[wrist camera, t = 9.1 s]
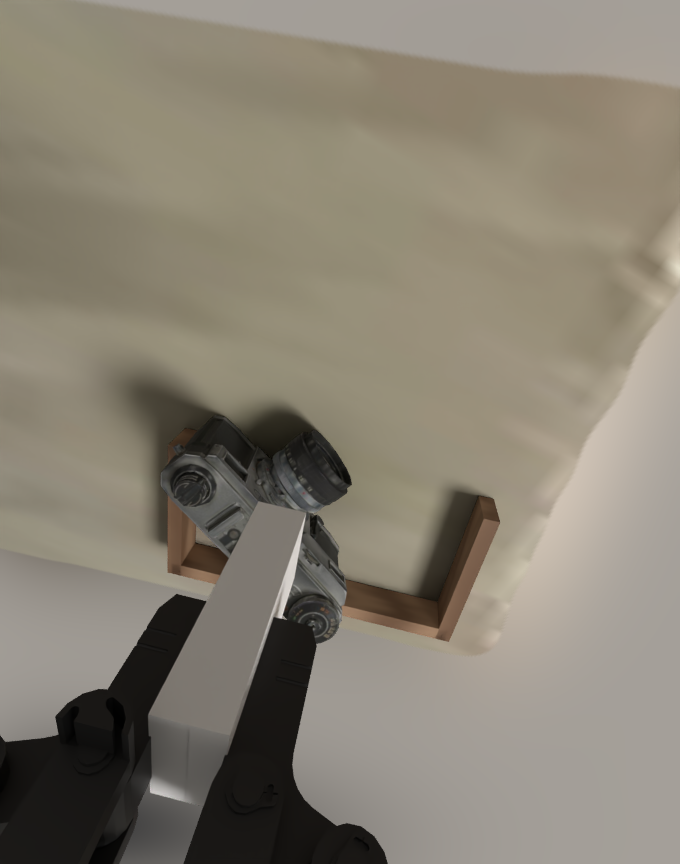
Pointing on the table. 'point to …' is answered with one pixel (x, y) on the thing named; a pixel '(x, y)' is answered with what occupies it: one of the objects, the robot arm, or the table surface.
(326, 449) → the camera
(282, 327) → the table surface
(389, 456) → the table surface
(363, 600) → the dock
